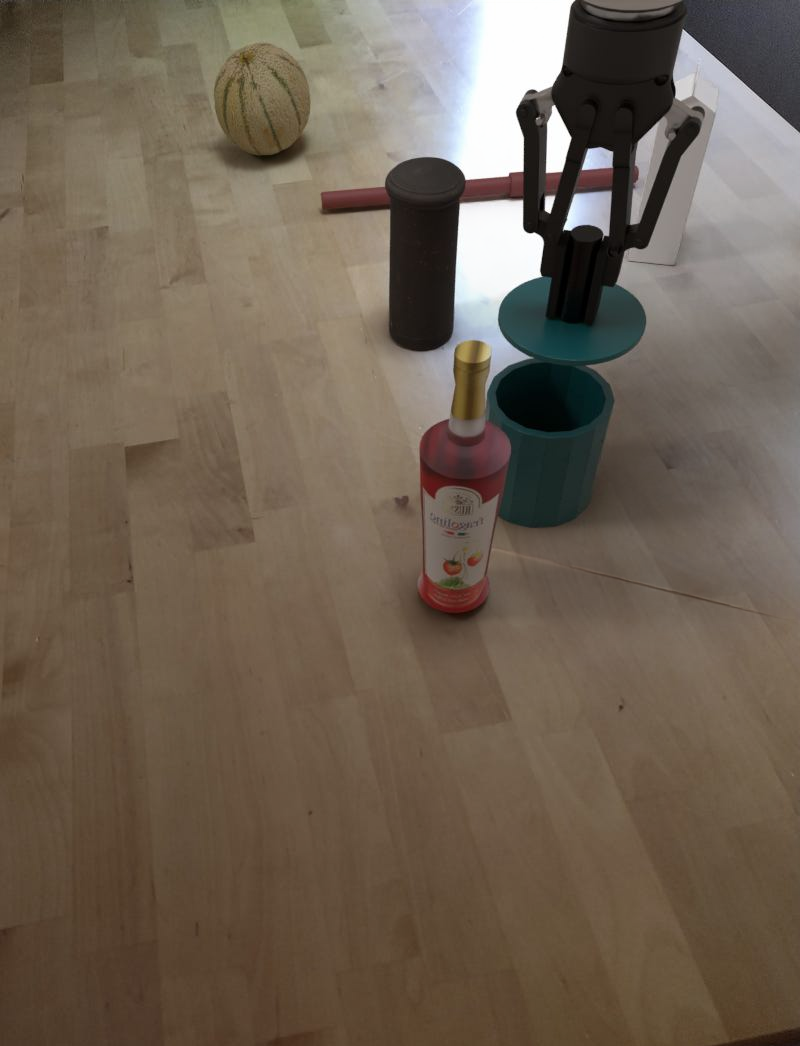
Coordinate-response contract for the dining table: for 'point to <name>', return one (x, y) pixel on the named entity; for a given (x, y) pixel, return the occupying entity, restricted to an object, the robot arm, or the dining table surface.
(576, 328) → the teal lid
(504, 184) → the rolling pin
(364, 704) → the dining table surface
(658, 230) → the milk
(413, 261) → the container
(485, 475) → the liquor
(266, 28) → the dining table surface
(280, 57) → the cantaloupe
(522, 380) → the teal pot
